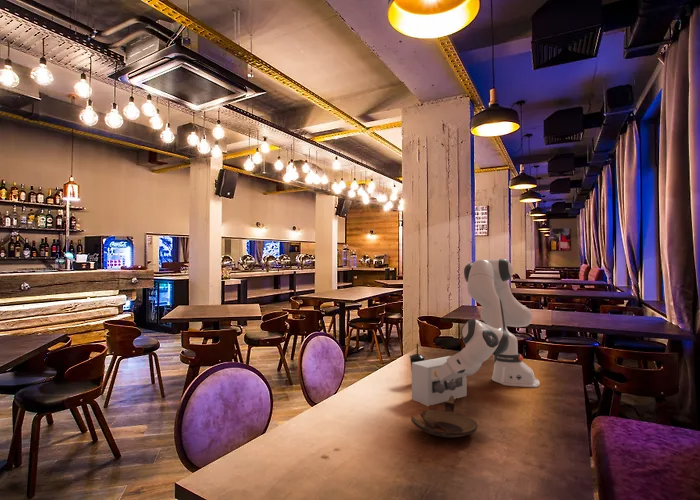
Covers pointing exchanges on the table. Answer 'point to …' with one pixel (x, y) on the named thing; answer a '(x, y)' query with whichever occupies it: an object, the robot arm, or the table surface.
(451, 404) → the oil lamp
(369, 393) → the table surface
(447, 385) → the button
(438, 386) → the button
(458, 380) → the button
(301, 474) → the table surface
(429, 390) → the console
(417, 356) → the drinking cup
